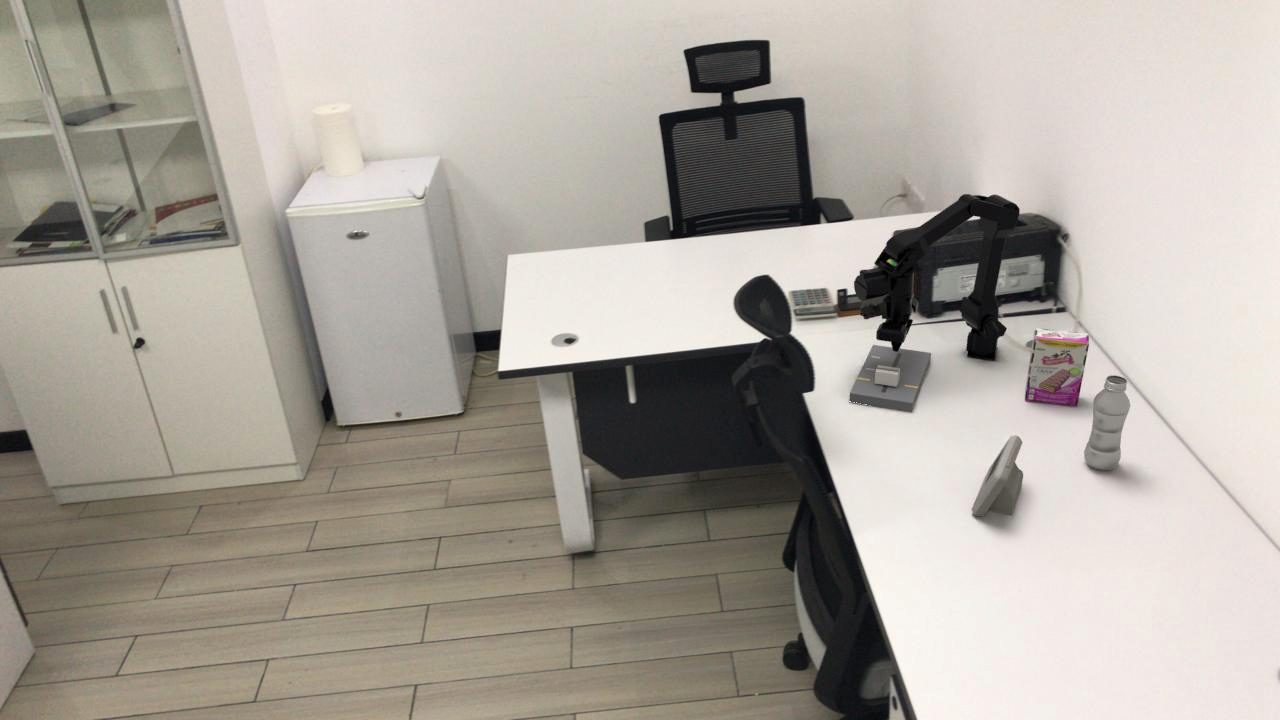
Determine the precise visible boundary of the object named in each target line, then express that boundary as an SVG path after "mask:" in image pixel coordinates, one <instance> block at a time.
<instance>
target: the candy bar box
mask: <svg viewBox="0 0 1280 720" xmlns="http://www.w3.org/2000/svg"><path fill="white" fill-rule="evenodd" d="M1033 332H1034V333H1033V338H1032V344H1031V350H1030V351H1031V352H1030V358H1029V364H1028V369H1027V375H1026V381H1025V382H1026V383H1025V389H1024V392H1025V393H1024V401H1026V402H1033V401H1034V403H1041V404H1042V403H1043V404H1044V403H1045V404H1050V405H1051V404H1053V405H1061V406H1069V407H1070V406H1071V407H1078V403H1079V398H1080V394H1081V388H1082V383H1083V378H1084V372H1085V368H1086V363H1087V357H1088V351H1089V347H1090V337H1089V333H1087V332H1079V331H1078V332H1077V331H1066V330H1065V331H1064V330H1057V329H1056V330H1055V329H1049V328H1048V329H1047V328H1046V329H1045V328H1037V327H1036V328H1034V331H1033Z"/></svg>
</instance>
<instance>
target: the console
mask: <svg viewBox="0 0 1280 720" xmlns="http://www.w3.org/2000/svg"><path fill="white" fill-rule="evenodd" d="M931 359H932V352H928V351H920V350H914V349H907V348H901V347H900V348H899V350H898V352H895V351H893V349H892V346H885V345H878V344H872V346H871V348H870V350H869V351H868V355H867V356H866V359H865V360H864V363H863V365H862V367H861V369H860V371H859V372H858V375H857V377H856V379H855V381H854V384H853V386H852V388H851V390H850V392H849V399H848V400H849V401H851V402H855V403H854V404H856V402H857V403H861V404H860V405H862V404H867V405H866V406H868V405H871V406H870V407H876V408H881V409H888V410H894V411H900V412H907V413H912V412H913V410H914V407H915V406H916V405H915V404H916V402H917V400H918V397H919V394H920V391H921V389H922V386H923V383H924V380H925V378H926V375H927V372H928V369H929V367H930V365H931ZM878 365H881V366H888V367H894V368H900V379H899V382H898V385H897V387H895V386H888V385H882V384H875V371H876V369H877V367H878ZM849 401H848V402H849Z"/></svg>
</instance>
